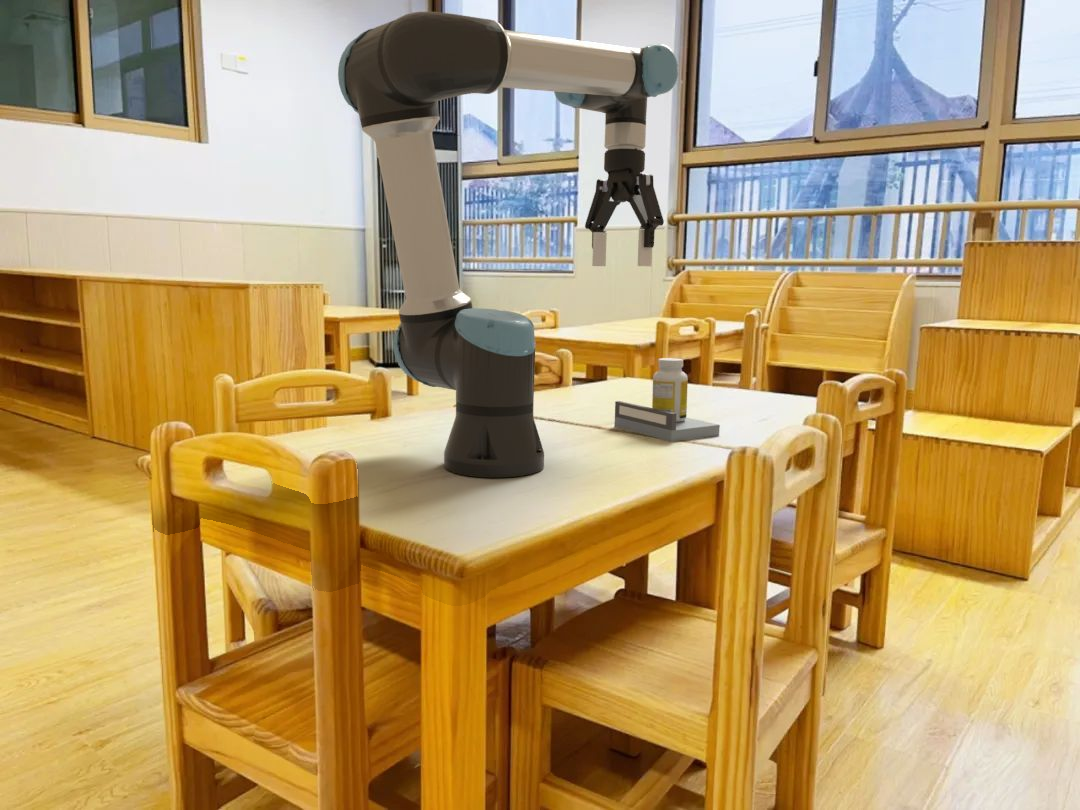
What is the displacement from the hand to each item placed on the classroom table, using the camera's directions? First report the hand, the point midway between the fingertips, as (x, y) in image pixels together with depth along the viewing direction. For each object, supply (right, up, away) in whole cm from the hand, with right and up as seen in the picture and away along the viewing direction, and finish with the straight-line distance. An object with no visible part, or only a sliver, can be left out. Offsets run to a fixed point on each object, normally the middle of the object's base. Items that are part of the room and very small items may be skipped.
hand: (620, 266), depth 154 cm
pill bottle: (+9, -29, +1) cm, 31 cm away
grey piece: (+9, -31, 0) cm, 32 cm away
